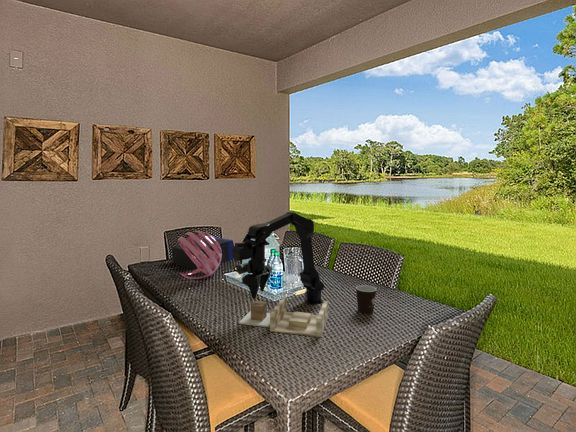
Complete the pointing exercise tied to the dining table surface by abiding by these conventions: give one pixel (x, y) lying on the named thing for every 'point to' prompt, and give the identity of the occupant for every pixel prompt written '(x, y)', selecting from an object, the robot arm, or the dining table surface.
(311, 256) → the robot arm
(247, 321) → the grey mat
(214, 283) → the dining table surface
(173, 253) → the headphone box
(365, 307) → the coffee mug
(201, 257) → the spiral basket
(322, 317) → the slot box
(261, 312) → the walnut block
